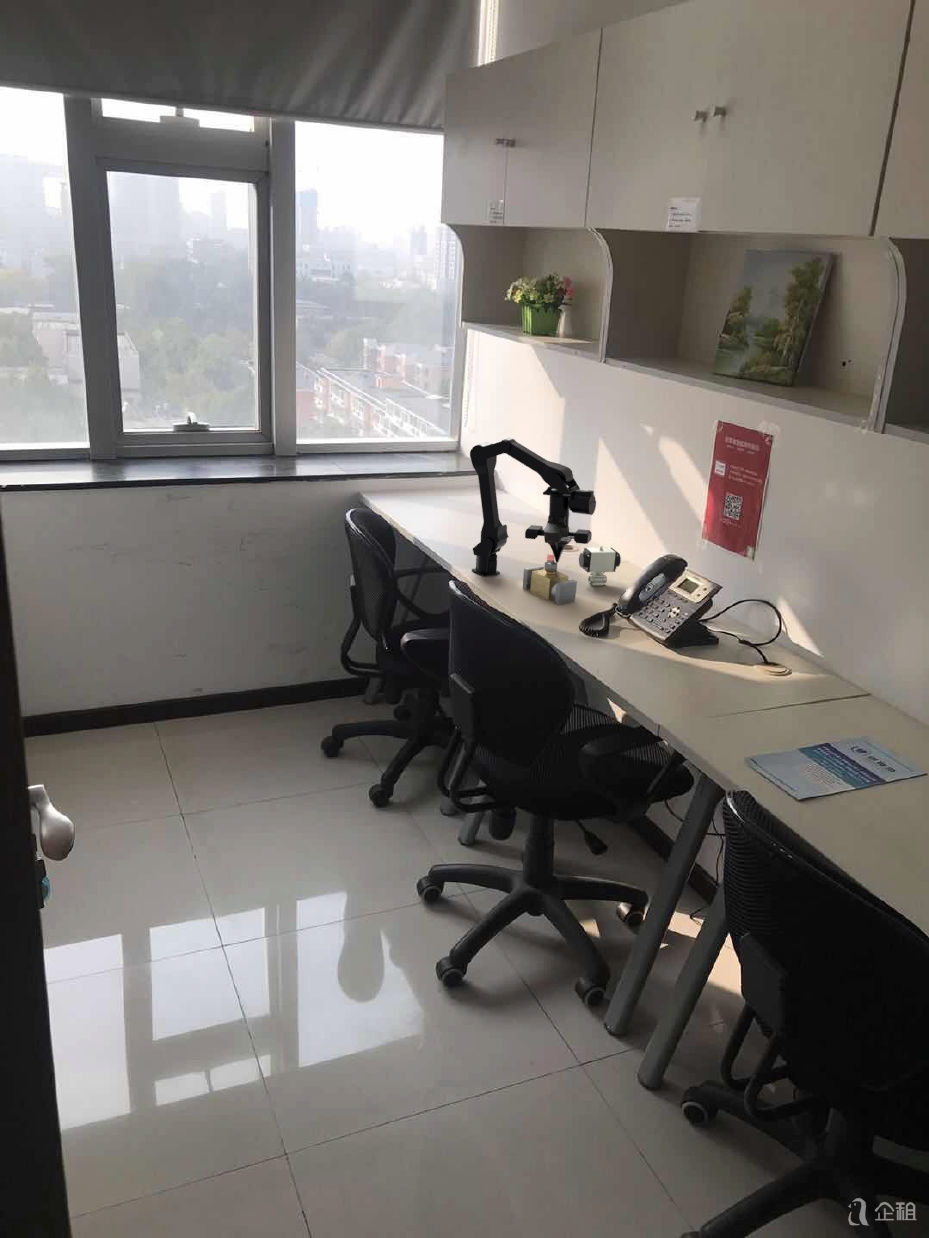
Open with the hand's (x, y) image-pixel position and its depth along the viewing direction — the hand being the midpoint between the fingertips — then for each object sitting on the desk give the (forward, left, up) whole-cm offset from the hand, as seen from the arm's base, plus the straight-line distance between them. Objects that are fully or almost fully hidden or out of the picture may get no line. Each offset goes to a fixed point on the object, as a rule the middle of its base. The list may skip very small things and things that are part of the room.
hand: (557, 562), depth 289 cm
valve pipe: (+4, -6, -8) cm, 11 cm away
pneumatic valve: (+3, +14, -8) cm, 16 cm away
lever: (+1, -4, 0) cm, 4 cm away
